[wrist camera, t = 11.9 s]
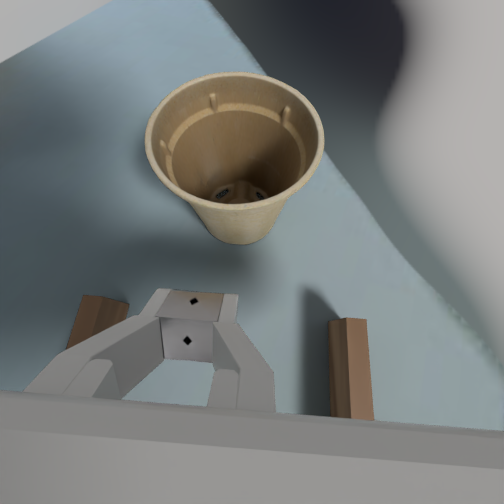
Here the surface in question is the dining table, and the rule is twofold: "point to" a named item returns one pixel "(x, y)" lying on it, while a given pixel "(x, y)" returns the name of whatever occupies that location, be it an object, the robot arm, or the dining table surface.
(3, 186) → the dining table surface
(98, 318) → the wooden u-shaped frame
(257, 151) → the flower pot
